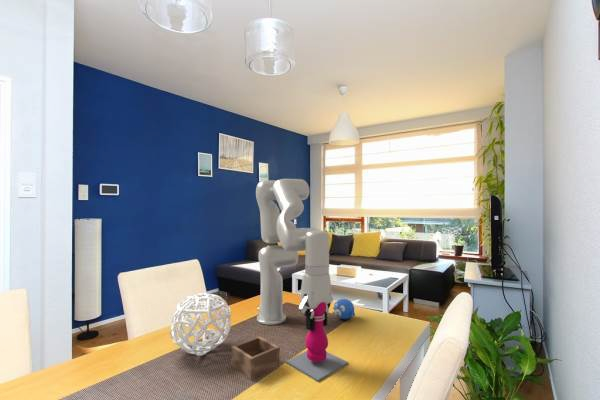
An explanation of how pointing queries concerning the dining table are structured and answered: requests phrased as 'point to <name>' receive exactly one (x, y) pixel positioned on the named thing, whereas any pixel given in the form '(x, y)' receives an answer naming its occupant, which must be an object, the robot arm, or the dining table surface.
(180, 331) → the decorative ball
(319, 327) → the pink bowling pin
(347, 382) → the dining table surface
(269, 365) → the holder
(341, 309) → the blue mole toy
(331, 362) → the mat
